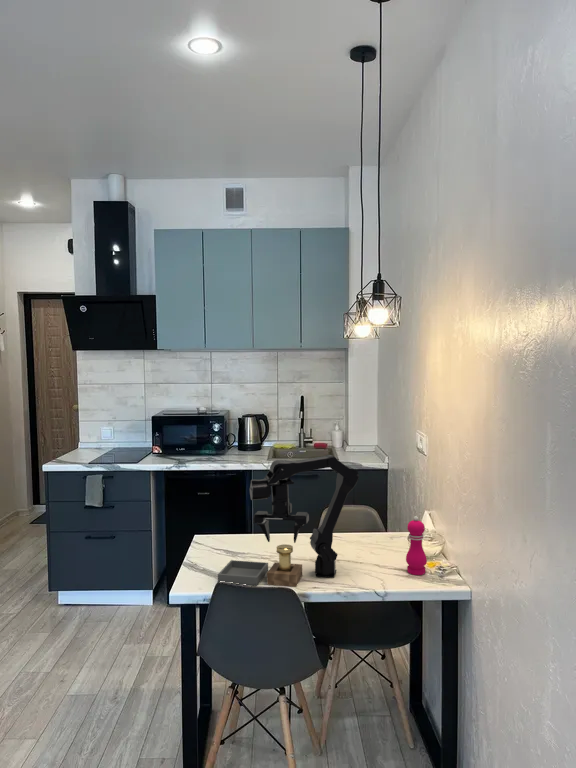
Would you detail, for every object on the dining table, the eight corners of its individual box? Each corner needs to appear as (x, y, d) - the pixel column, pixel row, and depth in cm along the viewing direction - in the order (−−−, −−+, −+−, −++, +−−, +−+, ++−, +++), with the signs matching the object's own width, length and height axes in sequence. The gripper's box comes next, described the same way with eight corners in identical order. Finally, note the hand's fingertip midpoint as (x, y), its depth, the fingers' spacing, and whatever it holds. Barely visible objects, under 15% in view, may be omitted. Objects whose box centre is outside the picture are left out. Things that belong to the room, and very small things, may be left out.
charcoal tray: (268, 570, 199) (268, 562, 199) (257, 586, 185) (257, 577, 185) (231, 568, 202) (231, 560, 202) (217, 583, 189) (217, 574, 188)
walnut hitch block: (302, 575, 194) (302, 564, 194) (296, 586, 184) (296, 575, 184) (274, 573, 196) (274, 562, 196) (267, 584, 187) (267, 572, 186)
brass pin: (294, 577, 192) (294, 544, 192) (291, 583, 187) (290, 550, 187) (279, 576, 194) (278, 544, 193) (275, 582, 188) (274, 549, 188)
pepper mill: (424, 568, 199) (423, 513, 199) (429, 575, 192) (428, 518, 191) (404, 568, 199) (403, 513, 199) (408, 576, 192) (407, 519, 192)
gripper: (310, 492, 196) (312, 535, 197) (260, 491, 200) (261, 534, 201) (305, 500, 185) (306, 546, 186) (251, 499, 189) (253, 544, 190)
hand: (281, 542), depth 191 cm, fingers open, 9 cm apart
